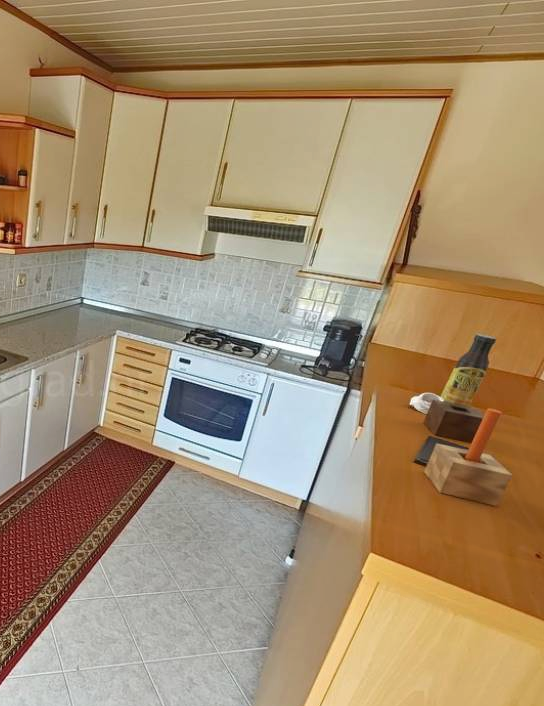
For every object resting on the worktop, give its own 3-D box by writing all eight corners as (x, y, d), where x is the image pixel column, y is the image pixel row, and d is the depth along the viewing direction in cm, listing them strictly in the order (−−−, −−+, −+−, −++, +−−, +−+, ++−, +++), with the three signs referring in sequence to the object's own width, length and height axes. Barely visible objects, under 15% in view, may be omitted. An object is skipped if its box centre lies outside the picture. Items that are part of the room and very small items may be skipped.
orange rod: (462, 487, 86) (498, 409, 81) (466, 492, 85) (504, 413, 80) (450, 484, 87) (485, 407, 82) (454, 489, 85) (490, 410, 80)
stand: (475, 484, 88) (490, 454, 86) (496, 506, 81) (512, 475, 79) (423, 471, 91) (436, 443, 89) (439, 492, 84) (453, 461, 81)
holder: (463, 431, 113) (474, 407, 111) (478, 444, 106) (490, 419, 104) (423, 422, 116) (432, 399, 114) (435, 435, 109) (445, 410, 107)
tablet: (427, 438, 107) (428, 434, 106) (492, 459, 100) (494, 455, 99) (413, 462, 94) (415, 458, 94) (487, 487, 87) (489, 483, 87)
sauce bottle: (441, 408, 127) (472, 335, 121) (434, 401, 133) (463, 330, 126) (471, 415, 125) (505, 340, 118) (463, 407, 130) (495, 335, 124)
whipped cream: (444, 416, 125) (453, 398, 123) (445, 420, 120) (455, 402, 118) (407, 404, 129) (416, 387, 128) (407, 408, 124) (416, 390, 122)
